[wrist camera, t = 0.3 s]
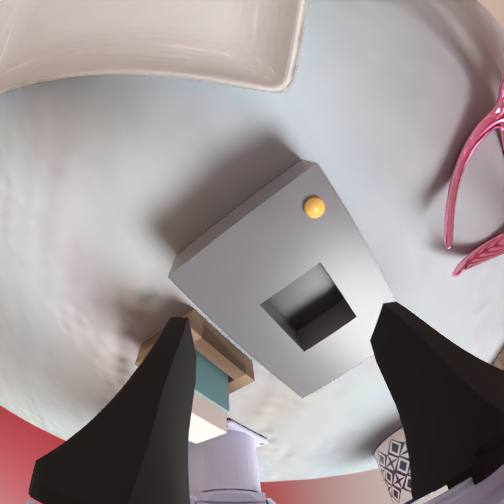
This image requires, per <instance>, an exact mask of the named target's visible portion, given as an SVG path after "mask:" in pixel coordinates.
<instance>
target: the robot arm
mask: <svg viewBox="0 0 504 504" xmlns="http://www.w3.org/2000/svg"><path fill="white" fill-rule="evenodd" d="M370 342H371V346H372V349H373V352H374V355H375V358H376V362H377V364H378V366H379V369H380V371H381V373H382V375H383V377H384V380H385V382H386V384H387V386H388V388H389V391H390V393H391V395H392V397H393V400H394V402H395V404H396V407H397V409H398V412H399V415H400V419H401V423H402V426H403V430H404V434H405V439H406V444H407V449H408V456H409V463H410V474H411V495H412V498H413V500H417V499H419V498H421V497H423V496H426V495H428V494H430V493H432V492H434V491H436V490H438V489H440V488H442V487H443V486H445V485H447V486H448V489H449V490H448V491H446V492H444V493H442V494H441V495H439V496H437V497H436V498H434V499H432V500H430V501H428V502H426V503H424V504H504V370H502V369H499V368H497V367H495V366H493V365H490V364H488V363H486V362H484V361H482V360H480V359H479V358H477V357H475V356H473V355H472V354H470V353H468V352H466V351H465V350H463V349H462V348H460V347H459V346H457V345H456V344H454V343H453V342H451V341H450V340H448V339H447V338H446V337H444V336H443V335H441V334H440V333H439V332H437V331H436V330H435V329H433V328H432V327H431V326H429V325H428V324H427V323H425V322H424V321H423V320H421V319H420V318H419V317H417V316H416V315H415V314H413V313H412V312H411V311H409V310H408V309H406V308H405V307H404V306H402V305H401V304H399V303H397V302H389V303H383V305H382V308H381V311H380V314H379V317H378V320H377V323H376V326H375V328H374V331H373V334H372V337H371V339H370ZM196 358H197V355H196V351H195V346H194V342H193V337H192V333H191V328H190V323H189V318H188V317H171V318H170V319H169V321H168V322H167V324H166V326H165V327H164V329H163V331H162V332H161V334H160V336H159V337H158V339H157V340H156V342H155V343H154V345H153V346H152V348H151V349H150V351H149V352H148V354H147V355H146V357H145V358H144V360H143V361H142V363H141V364H140V365H139V367H138V368H137V369H136V371H135V372H134V373H133V375H132V376H131V377H130V379H129V380H128V381H127V383H126V384H125V385H124V386H123V387H122V389H121V390H120V391H119V392H118V393H117V395H116V396H115V397H114V398H113V399H112V400H111V401H110V402H109V403H108V404H107V406H106V407H105V408H103V409H102V410H101V411H100V412H99V413H98V414H97V415H96V416H95V417H94V418H93V419H92V420H91V421H90V422H89V423H88V424H87V425H86V426H84V427H83V428H82V429H81V430H80V431H78V432H77V433H76V434H75V435H73V436H72V437H71V438H70V439H68V440H67V441H66V442H64V443H63V444H62V445H60V446H59V447H57V448H56V449H54V450H52V451H51V452H49V453H48V454H47V455H45V456H43V457H41V458H40V459H38V460H36V463H35V466H34V470H33V474H32V478H31V483H30V488H29V495H30V497H32V498H33V499H35V500H37V501H39V502H41V503H43V504H276V503H275V502H274V501H273V500H272V499H270V498H266V497H265V493H264V492H262V493H261V487H260V480H259V472H258V464H257V456H256V448H257V447H260V446H262V445H265V444H267V443H268V440H267V439H265V438H263V437H261V436H259V435H258V434H256V433H254V432H252V431H250V430H248V429H246V428H244V427H243V426H241V425H239V424H237V423H235V422H234V421H232V420H228V421H227V433H225V434H222V435H219V436H217V437H214V438H211V439H208V440H206V441H203V442H200V443H197V444H195V443H193V442H191V441H189V440H188V438H189V428H190V420H191V412H192V405H193V398H194V390H195V383H196ZM26 504H38V503H36V502H34V501H31V500H29V499H27V501H26Z"/></svg>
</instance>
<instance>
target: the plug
mask: <svg viewBox="0 0 504 504" xmlns="http://www.w3.org/2000/svg"><path fill="white" fill-rule="evenodd" d="M195 351H196V355H197V358H196V383H195V390H194V398H193V405H192V412H191V420H190V428H189V438H188V440H189V441H191V442H193V443H195V444H197V443H200V442H203V441H206V440H208V439H211V438H214V437H217V436H219V435H222V434H225V433H227V412H229V392H228V375H227V374H226V373H225V372H223V371H222V370H221V369H220V368H218V367H217V366H216V365H215V364H213V363H212V362H211V361H209V360H208V359H207V358H206V357H205V356H203V355H202V354H201V353H200V352H198V351H197V350H196V349H195Z"/></svg>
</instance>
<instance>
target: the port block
mask: <svg viewBox="0 0 504 504" xmlns="http://www.w3.org/2000/svg"><path fill="white" fill-rule="evenodd" d="M168 278H169V279H170V280H171V281H172V282H173V283H174V284H175V285H176V286H177V287H178V288H179V289H180V290H181V291H182V292H183V293H184V294H185V295H186V296H187V297H188V298H189V299H190V300H191V301H192V302H193V303H194V304H195V305H196V306H197V307H198V308H200V309H201V310H202V311H203V312H204V313H205V314H206V315H207V316H208V317H209V318H210V319H211V320H212V321H213V322H214V323H215V324H216V325H217V326H219V327H220V328H221V329H222V330H223V331H224V332H225V333H226V334H227V335H228V336H229V337H231V338H232V339H233V340H234V341H235V342H236V343H237V344H238V345H240V346H241V347H242V348H243V349H244V350H245V351H246V352H247V353H249V354H250V355H251V356H252V357H253V358H254V359H256V360H257V361H258V362H259V363H260V364H261V365H263V366H264V367H265V368H266V369H267V370H269V371H270V372H271V373H272V374H273V375H275V376H276V377H277V378H278V379H279V380H281V381H282V382H283V383H284V384H286V385H287V386H288V387H289V388H291V389H292V390H293V391H294V392H296V393H297V394H298V395H299V396H301V397H302V398H304V397H305V396H307V395H309V394H311V393H313V392H315V391H316V390H318V389H320V388H322V387H323V386H325V385H327V384H329V383H330V382H332V381H334V380H335V379H337V378H339V377H340V376H342V375H343V374H345V373H347V372H348V371H350V370H351V369H353V368H354V367H356V366H357V365H359V364H361V363H362V362H364V361H365V360H366V359H368V358H369V357H371V356H372V355H374V352H373V349H372V346H371V342H370V339H371V337H372V334H373V331H374V328H375V326H376V323H377V320H378V317H379V314H380V311H381V308H382V305H383V303H389V302H395V300H394V297H393V295H392V293H391V291H390V289H389V287H388V285H387V283H386V281H385V279H384V277H383V275H382V273H381V271H380V269H379V267H378V265H377V263H376V261H375V259H374V257H373V255H372V253H371V252H370V250H369V248H368V246H367V244H366V242H365V241H364V239H363V237H362V235H361V233H360V232H359V230H358V228H357V226H356V225H355V223H354V221H353V219H352V218H351V216H350V214H349V213H348V211H347V209H346V208H345V206H344V204H343V203H342V201H341V199H340V198H339V196H338V194H337V193H336V191H335V190H334V188H333V186H332V185H331V183H330V182H329V180H328V179H327V177H326V176H325V174H324V173H323V171H322V170H321V168H320V167H319V165H318V164H317V163H315V162H310V161H306V160H300V161H298V162H297V163H295V164H294V165H293V166H291V167H290V168H289V169H287V170H286V171H284V172H283V173H282V174H280V175H279V176H278V177H276V178H275V179H274V180H272V181H271V182H269V183H268V184H267V185H265V186H264V187H263V188H261V189H260V190H259V191H257V192H256V193H255V194H253V195H252V196H251V197H250V198H248V199H247V200H246V201H244V202H243V203H242V204H240V205H239V206H238V207H236V208H235V209H234V210H233V211H231V212H230V213H229V214H227V215H226V216H225V217H224V218H222V219H221V220H220V221H218V222H217V223H216V224H215V225H213V226H212V227H211V228H210V229H208V230H207V231H206V232H205V233H203V234H202V235H201V236H200V237H198V238H197V239H196V240H195V241H193V242H192V243H191V244H190V245H188V246H187V247H186V248H185V249H184V250H182V251H181V252H180V253H179V254H177V256H176V258H175V261H174V263H173V266H172V268H171V270H170V273H169V275H168Z"/></svg>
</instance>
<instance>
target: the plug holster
mask: <svg viewBox="0 0 504 504" xmlns="http://www.w3.org/2000/svg"><path fill="white" fill-rule="evenodd" d="M182 317H188V318H189V323H190V328H191V333H192V337H193V342H194V346H195V349H196V350H197V351H198V352H200V353H201V354H202V355H203V356H205V357H206V358H207V359H208V360H209V361H211V362H212V363H213V364H215V365H216V366H217V367H218V368H220V369H221V370H222V371H223V372H225V373H226V374H227V375H228V392H229V394H230V393H232V392H234V391H236V390H238V389H240V388H242V387H244V386H246V385H248V384H249V383H251V382H253V381H255V380H254V372H253V364H252V361H251V360H250V359H249V358H248V357H247V356H246V355H244V354H243V353H242V352H241V351H240V350H239V349H237V348H236V347H235V346H234V345H233V344H232V343H231V342H230V341H228V340H227V339H226V338H225V337H224V336H223V335H222V334H221V333H219V332H218V331H217V330H216V329H215V328H214V327H213V326H212V325H211V324H210V323H209V322H208V321H206V320H205V319H204V318H203V317H202V316H201V315H200V314H199V313H198V312H197V311H196V310H195V309H194V308H193V309H192V310H190V311H189V312H188V313H186V314H185V315H183V316H182ZM162 331H163V330H162ZM162 331H161V332H162ZM161 332H159V333H158V334H157V335H155V336H154V337H152V338H151V339H150V340H148V341H147V342H145V343H144V344H142V345H141V348H140V351H139V354H138V357H137V360H136V363H135V364H136V365H137V366H138V367H139V365H140V364H141V363H142V361H143V360H144V358H145V357H146V355H147V354H148V352H149V351H150V349H151V348H152V346H153V345H154V343H155V342H156V340H157V339H158V337H159V336H160V334H161Z"/></svg>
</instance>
